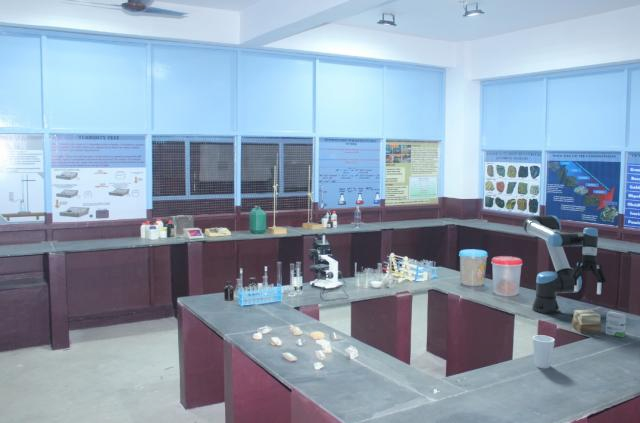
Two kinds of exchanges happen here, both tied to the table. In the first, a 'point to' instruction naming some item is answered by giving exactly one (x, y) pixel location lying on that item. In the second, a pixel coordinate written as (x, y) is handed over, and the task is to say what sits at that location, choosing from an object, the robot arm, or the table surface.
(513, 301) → the table surface
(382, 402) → the table surface
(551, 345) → the foam cup
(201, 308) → the table surface
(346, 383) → the table surface
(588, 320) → the top block
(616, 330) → the ink box
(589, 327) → the bottom block
